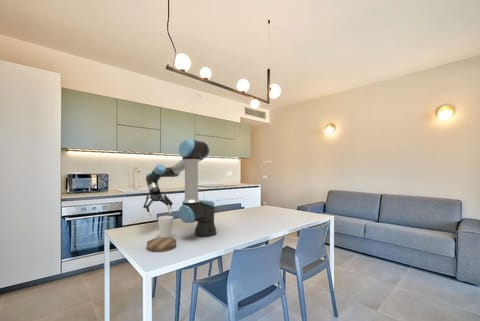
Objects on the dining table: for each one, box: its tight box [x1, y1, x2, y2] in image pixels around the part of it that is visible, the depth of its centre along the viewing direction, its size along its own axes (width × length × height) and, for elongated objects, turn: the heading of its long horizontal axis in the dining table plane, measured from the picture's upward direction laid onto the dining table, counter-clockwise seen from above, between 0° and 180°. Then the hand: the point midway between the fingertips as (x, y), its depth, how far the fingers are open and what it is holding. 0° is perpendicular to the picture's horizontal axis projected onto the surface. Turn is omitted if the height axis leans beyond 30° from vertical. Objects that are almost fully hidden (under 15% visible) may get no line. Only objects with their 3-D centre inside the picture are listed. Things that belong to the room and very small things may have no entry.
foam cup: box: [157, 215, 174, 238], centre depth 148 cm, size 10×9×13 cm
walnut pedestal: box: [146, 237, 177, 253], centre depth 129 cm, size 16×16×3 cm
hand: (160, 214), depth 154 cm, fingers open, 13 cm apart
